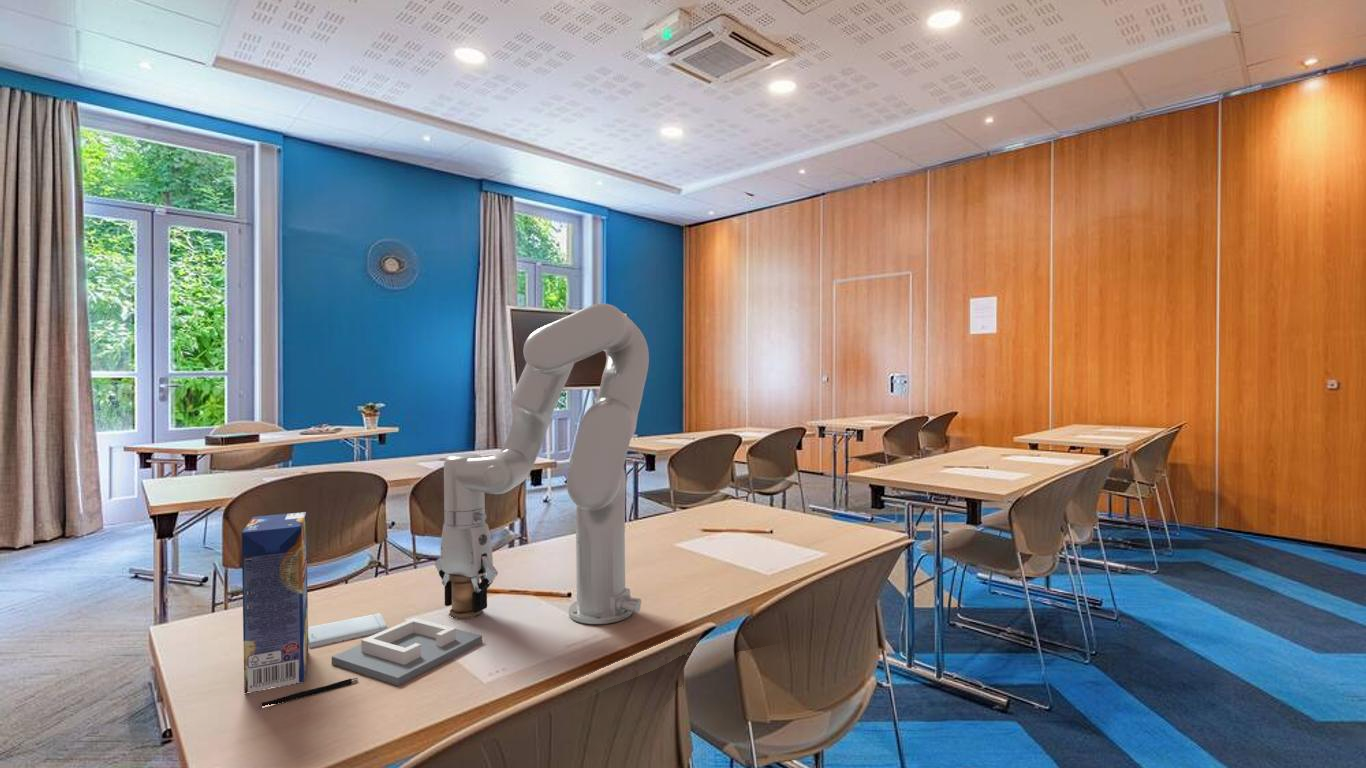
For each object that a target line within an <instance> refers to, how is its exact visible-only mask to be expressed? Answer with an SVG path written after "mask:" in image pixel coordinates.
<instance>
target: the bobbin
mask: <svg viewBox="0 0 1366 768" xmlns="http://www.w3.org/2000/svg"><path fill="white" fill-rule="evenodd" d="M478 574H479V571H478ZM449 580H450V581H452V605H451V609H450V610H449V617H450V616H451V617H453V618H457V619H456V620H466V619H465V618H469V619H472V618H471V617H473V618H476V617H478V616H480V615H481V614H482V613H483V610H481V611H479V612H477V613H475V612H473V605H472V593H473V592H474V591H475V589H474V586H473V583H472V581H471V578H468V577H463V576H458V575H453V574H449ZM478 581H479V584H480V583H481V579H480V577H479V578H478ZM481 612H482V613H481ZM479 614H480V615H479ZM477 615H478V616H477ZM475 616H476V617H475ZM451 617H450V618H451ZM453 618H452V619H453Z"/></svg>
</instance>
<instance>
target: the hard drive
mask: <svg viewBox="0 0 1366 768" xmlns="http://www.w3.org/2000/svg"><path fill="white" fill-rule="evenodd" d="M386 629H388V625H387V623H386V621H385V619H384V617H383V615H382V614H381V613H380V612H378V613H374V614H369V615H364V616H358V617H357V616H356V617H352V618H348V619H343V620H337V621H334V622H332V621H331V622H327V623H322V624H317V625H312V626H308V649H312V648H316V647H321V646H325V645H329V644H334V642H335V643H339V642H344V641H348V640H352V638H353V639H358V638H361V636H362V637H366V636H372V635H374V634H377V633H379V632H382V631H384V630H386ZM343 640H344V641H343Z"/></svg>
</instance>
